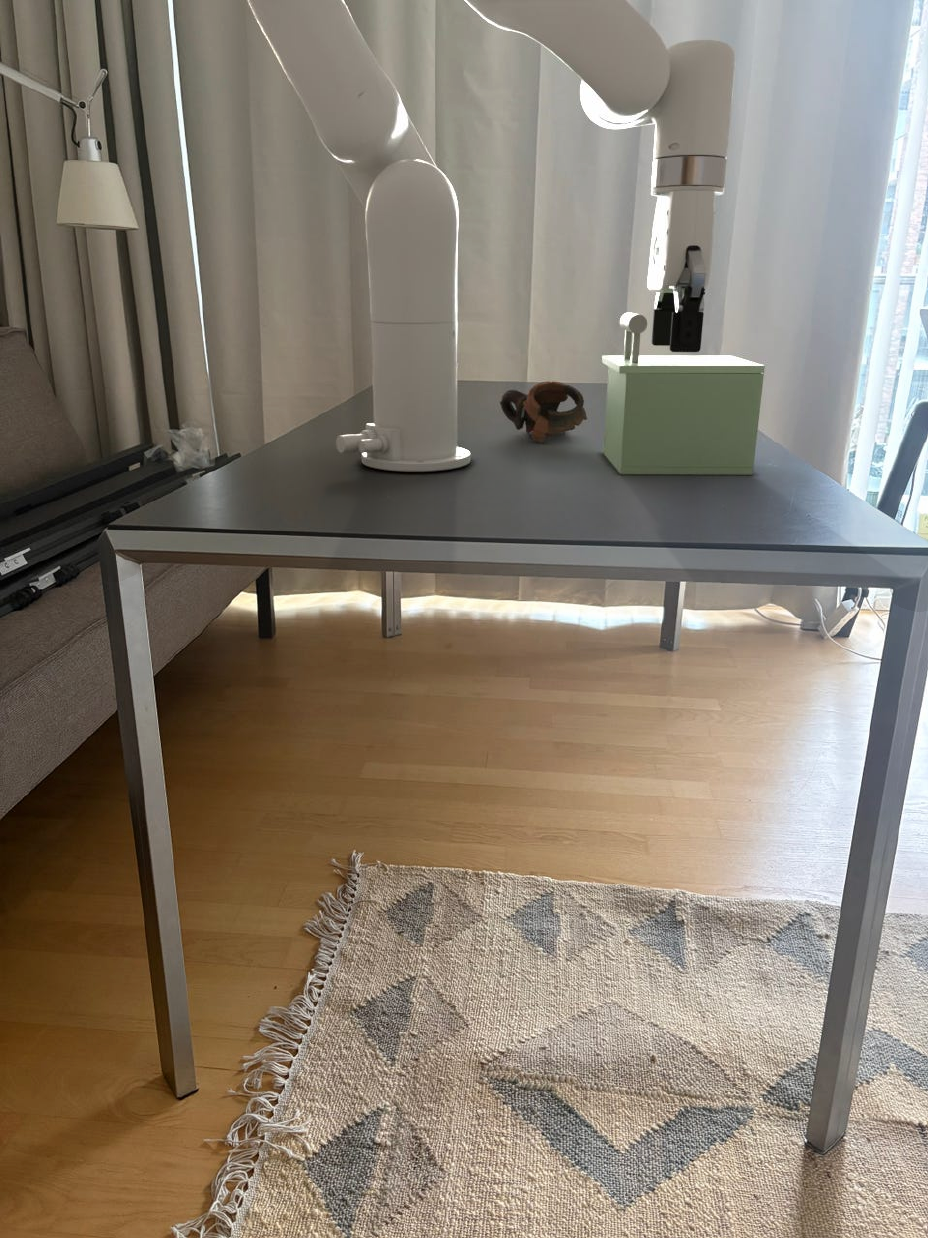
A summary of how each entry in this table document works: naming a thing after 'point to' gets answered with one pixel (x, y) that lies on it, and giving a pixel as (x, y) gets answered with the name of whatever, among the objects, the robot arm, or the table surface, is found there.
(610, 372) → the chest
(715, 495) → the table surface
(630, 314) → the lid
